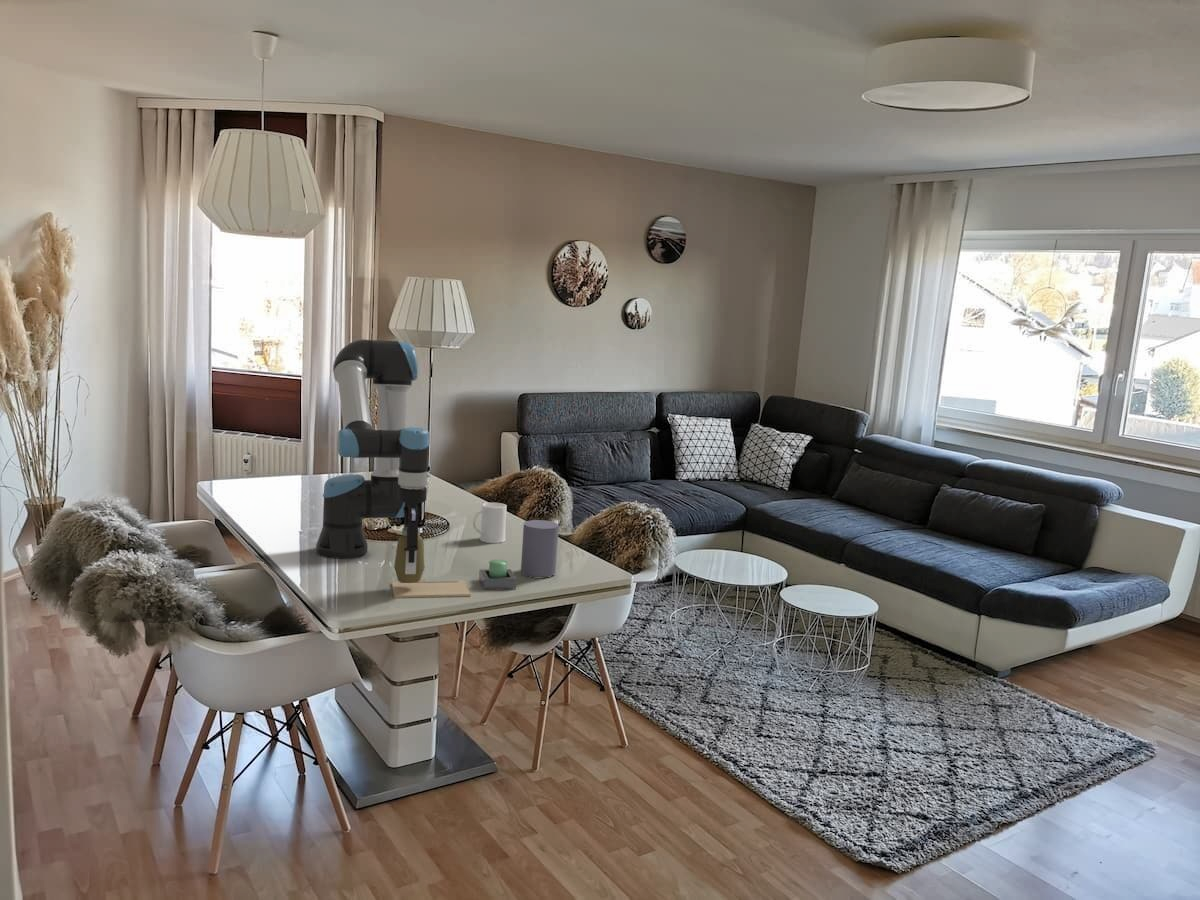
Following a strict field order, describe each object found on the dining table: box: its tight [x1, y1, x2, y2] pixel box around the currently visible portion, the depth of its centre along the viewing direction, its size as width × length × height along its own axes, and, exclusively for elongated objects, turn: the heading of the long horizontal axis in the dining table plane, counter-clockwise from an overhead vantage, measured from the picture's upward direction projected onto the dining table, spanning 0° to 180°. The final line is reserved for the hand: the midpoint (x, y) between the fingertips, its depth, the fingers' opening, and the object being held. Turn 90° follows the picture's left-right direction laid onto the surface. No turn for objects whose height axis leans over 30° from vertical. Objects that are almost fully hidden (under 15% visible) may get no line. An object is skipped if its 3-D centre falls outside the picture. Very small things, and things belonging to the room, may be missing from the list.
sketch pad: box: [391, 580, 471, 599], centre depth 248 cm, size 20×12×1 cm, turn 106°
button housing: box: [478, 568, 517, 591], centre depth 257 cm, size 9×9×3 cm
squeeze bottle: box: [393, 527, 426, 583], centre depth 244 cm, size 8×8×18 cm
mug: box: [472, 502, 508, 544], centre depth 302 cm, size 12×8×12 cm
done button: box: [488, 559, 508, 578], centre depth 256 cm, size 5×5×5 cm
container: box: [520, 519, 560, 578], centre depth 269 cm, size 10×10×15 cm
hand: (409, 568), depth 245 cm, fingers closed on squeeze bottle, 8 cm apart
